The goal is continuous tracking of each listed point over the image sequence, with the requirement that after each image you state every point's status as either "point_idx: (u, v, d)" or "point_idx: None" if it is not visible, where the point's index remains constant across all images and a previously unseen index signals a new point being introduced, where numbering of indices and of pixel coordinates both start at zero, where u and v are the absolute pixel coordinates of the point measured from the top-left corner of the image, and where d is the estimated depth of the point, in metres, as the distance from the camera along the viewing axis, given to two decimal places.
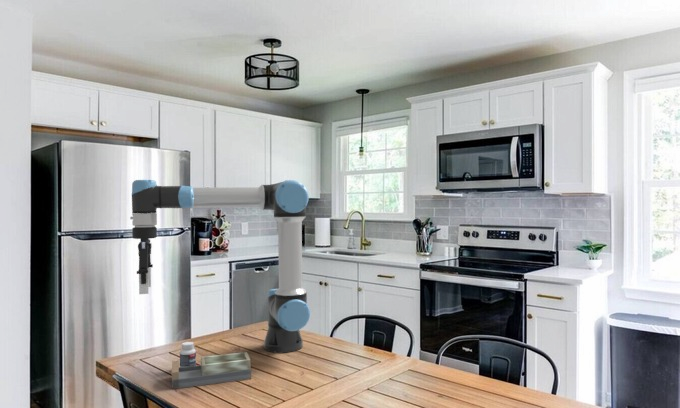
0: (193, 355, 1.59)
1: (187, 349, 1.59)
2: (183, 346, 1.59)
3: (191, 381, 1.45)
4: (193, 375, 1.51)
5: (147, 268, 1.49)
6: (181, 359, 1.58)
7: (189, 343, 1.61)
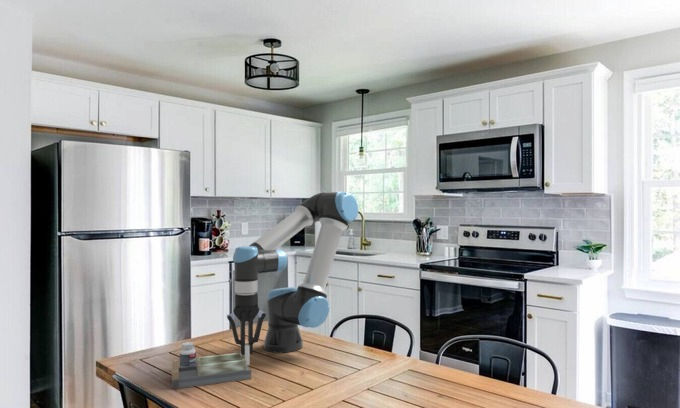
0: (193, 355, 1.59)
1: (187, 349, 1.59)
2: (183, 346, 1.59)
3: (191, 381, 1.45)
4: (193, 375, 1.51)
5: (241, 341, 1.54)
6: (181, 359, 1.58)
7: (189, 343, 1.61)
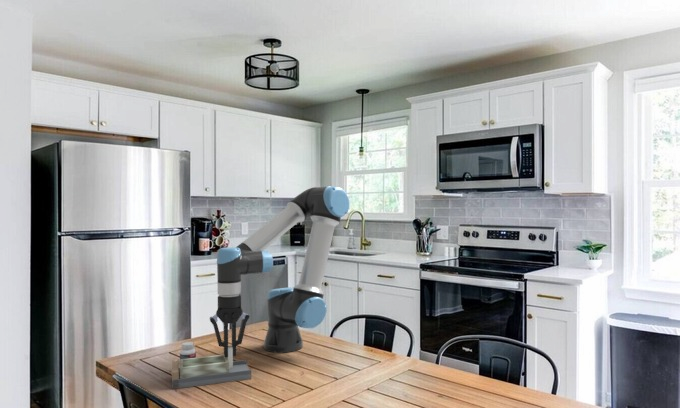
0: (193, 355, 1.59)
1: (187, 349, 1.59)
2: (183, 346, 1.59)
3: (191, 381, 1.45)
4: None
5: (224, 343, 1.53)
6: None
7: (189, 343, 1.61)
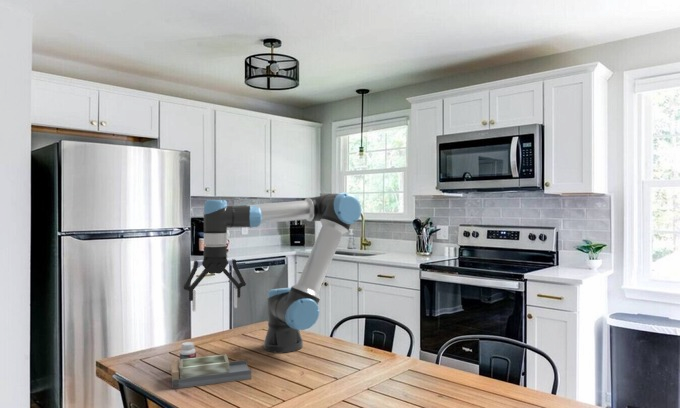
0: (193, 355, 1.59)
1: (187, 349, 1.59)
2: (183, 346, 1.59)
3: (191, 381, 1.45)
4: None
5: (191, 286, 1.54)
6: None
7: (189, 343, 1.61)
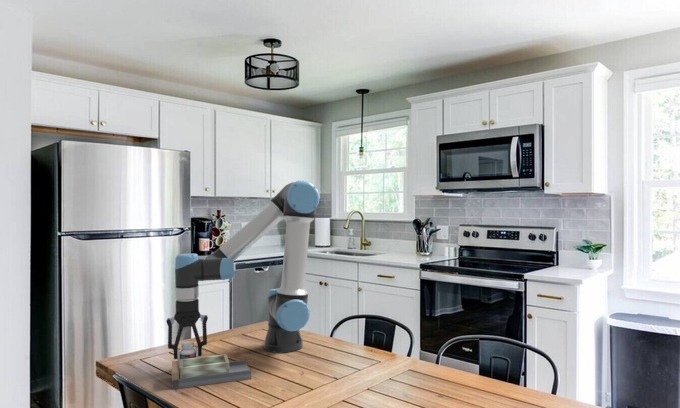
0: (193, 355, 1.59)
1: (187, 349, 1.59)
2: (183, 346, 1.59)
3: (191, 381, 1.45)
4: None
5: (174, 345, 1.58)
6: None
7: (189, 343, 1.61)
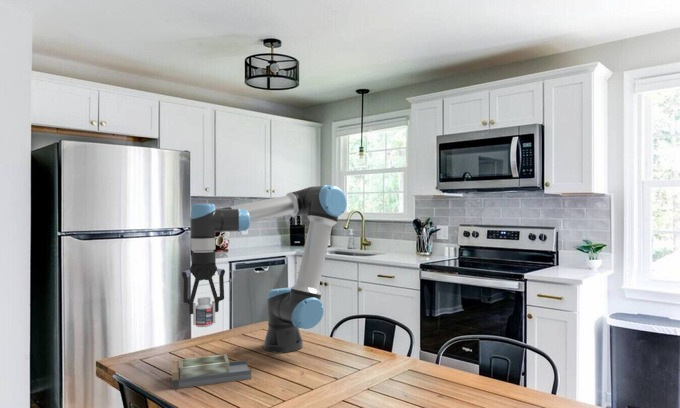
0: (210, 310, 1.51)
1: (204, 303, 1.50)
2: (199, 300, 1.50)
3: (191, 381, 1.45)
4: None
5: (190, 299, 1.49)
6: (197, 314, 1.50)
7: (205, 297, 1.52)
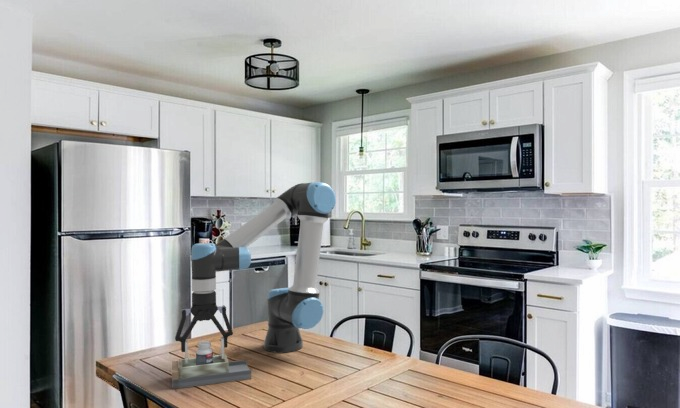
0: (210, 355, 1.51)
1: (204, 348, 1.50)
2: (200, 345, 1.50)
3: (191, 381, 1.45)
4: None
5: (182, 337, 1.48)
6: (198, 359, 1.50)
7: (206, 342, 1.52)
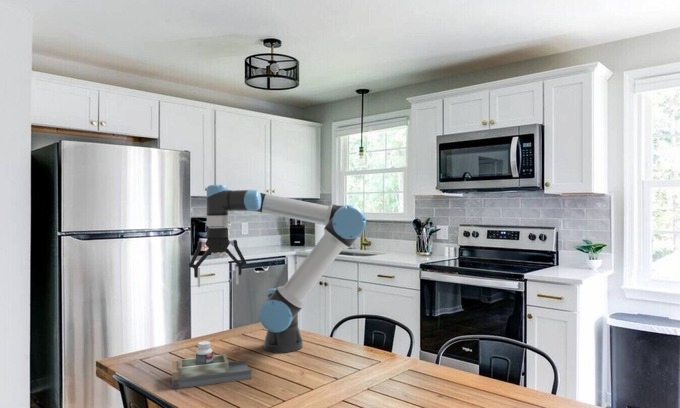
0: (210, 355, 1.50)
1: (204, 348, 1.50)
2: (199, 345, 1.50)
3: (191, 381, 1.45)
4: None
5: (196, 264, 1.68)
6: (197, 359, 1.49)
7: (206, 342, 1.52)
